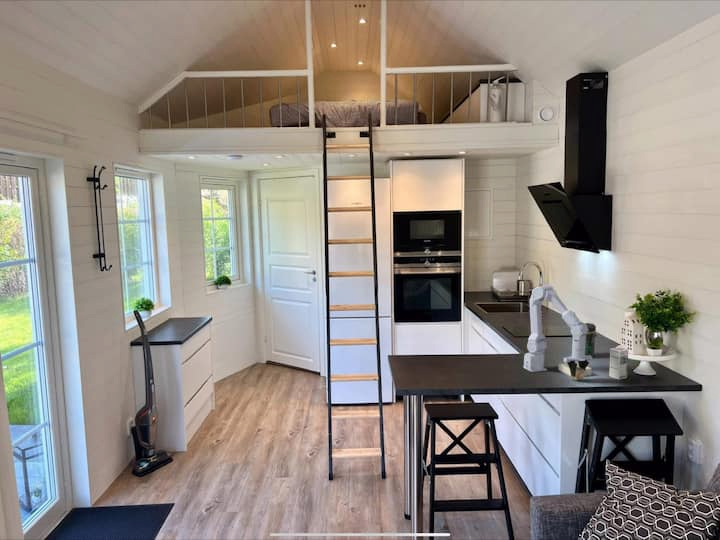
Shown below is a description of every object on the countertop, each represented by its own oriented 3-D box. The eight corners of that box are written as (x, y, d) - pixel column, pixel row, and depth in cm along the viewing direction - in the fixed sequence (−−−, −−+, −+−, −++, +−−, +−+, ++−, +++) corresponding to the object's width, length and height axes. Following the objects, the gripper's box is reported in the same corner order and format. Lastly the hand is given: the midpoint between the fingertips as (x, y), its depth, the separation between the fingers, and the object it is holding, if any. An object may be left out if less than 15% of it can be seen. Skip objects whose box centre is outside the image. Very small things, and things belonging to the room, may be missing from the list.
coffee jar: (589, 359, 275) (591, 326, 273) (575, 356, 281) (576, 324, 279) (596, 355, 282) (598, 323, 280) (582, 352, 288) (583, 321, 285)
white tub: (572, 377, 247) (572, 370, 246) (558, 370, 257) (558, 363, 257) (591, 375, 250) (591, 368, 249) (576, 368, 260) (576, 361, 260)
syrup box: (618, 379, 243) (620, 350, 241) (608, 376, 248) (610, 347, 246) (627, 378, 245) (629, 349, 243) (616, 374, 250) (618, 346, 249)
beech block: (576, 380, 240) (576, 370, 240) (570, 377, 244) (571, 367, 244) (583, 379, 241) (583, 369, 241) (577, 376, 245) (578, 366, 245)
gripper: (571, 351, 235) (569, 379, 237) (597, 349, 239) (595, 376, 241) (561, 347, 242) (560, 374, 244) (586, 345, 246) (585, 372, 247)
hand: (577, 375), depth 243 cm, fingers closed on beech block, 4 cm apart
